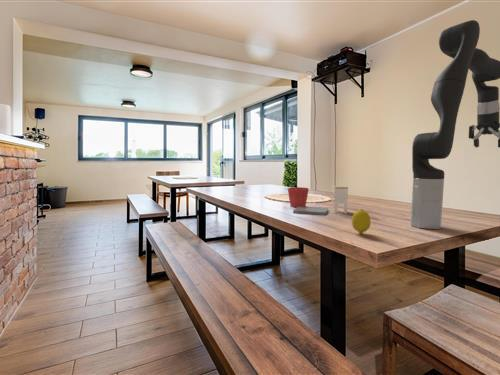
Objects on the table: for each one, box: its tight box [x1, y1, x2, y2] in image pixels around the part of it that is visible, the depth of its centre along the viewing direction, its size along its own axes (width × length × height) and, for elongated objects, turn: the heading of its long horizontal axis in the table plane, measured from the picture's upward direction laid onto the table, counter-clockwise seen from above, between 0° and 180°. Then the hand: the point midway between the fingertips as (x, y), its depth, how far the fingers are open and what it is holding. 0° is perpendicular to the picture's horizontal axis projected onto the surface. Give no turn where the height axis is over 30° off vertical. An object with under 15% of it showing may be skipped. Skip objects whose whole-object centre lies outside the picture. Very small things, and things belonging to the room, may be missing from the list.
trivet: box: [292, 206, 329, 216], centre depth 129 cm, size 14×14×1 cm
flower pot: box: [287, 186, 310, 208], centre depth 145 cm, size 11×11×10 cm
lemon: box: [351, 208, 372, 235], centre depth 88 cm, size 6×6×8 cm
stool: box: [333, 185, 349, 214], centre depth 128 cm, size 6×6×12 cm
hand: (488, 147), depth 127 cm, fingers open, 8 cm apart
